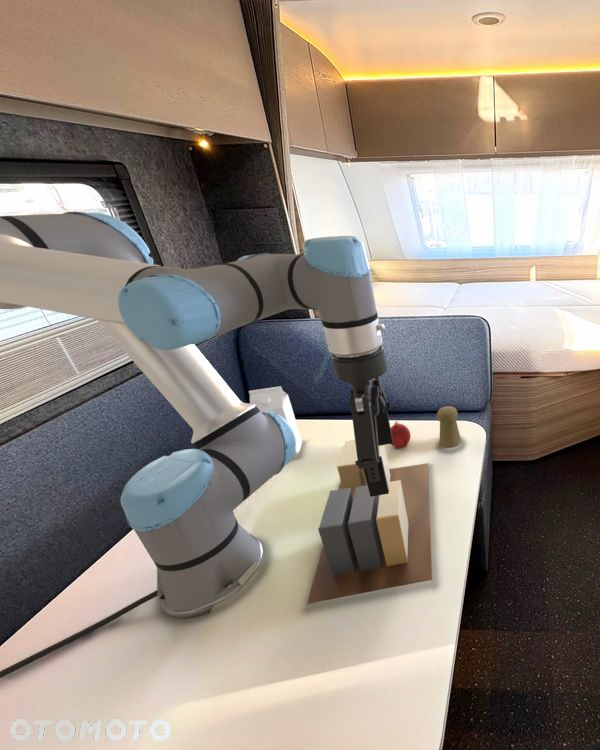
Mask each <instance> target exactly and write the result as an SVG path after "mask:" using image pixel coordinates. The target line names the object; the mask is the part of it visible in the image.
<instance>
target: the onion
mask: <svg viewBox="0 0 600 750" xmlns="http://www.w3.org/2000/svg"><path fill="white" fill-rule="evenodd" d="M390 428H391V433H392V438H393V444H390V446H392V447H394V448H396V449H401V448H404V447H406V446H407V445H408V444H409V442H410V441H411V436H412V435H411V432H410V429H409V428H408V427H407V426H406V425H405V424H403V423H399V422H398V421H397V420H395V421H394V424H393V425H392V426H390Z"/></svg>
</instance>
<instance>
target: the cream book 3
mask: <svg viewBox="0 0 600 750" xmlns="http://www.w3.org/2000/svg"><path fill="white" fill-rule="evenodd" d="M387 484H388V489H389V494H384V495H380V496H379V504H378V511H377V518H376V522H377V526H378V530H379V535H380V539H381V543H382V548H383V552H384V556H385V561H386V565H387V566H391V565H396V564H402V563H407V562H408V560H407V554H408V518H407V513H406V508H405V502H404V497H403V491H402V486H401V480H398V481H392V482H387Z"/></svg>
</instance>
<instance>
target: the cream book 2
mask: <svg viewBox="0 0 600 750" xmlns="http://www.w3.org/2000/svg"><path fill="white" fill-rule="evenodd" d="M379 456H382V461H383V466H384V470H385V475H386V479H387V482H390V470H389V469H390V466H389V461H388V456H387V451H386V445H381V446H379ZM362 471H363V475H364V480H365V484H366V485H367V481H366V477H365V473H364V469H363V468H362ZM379 496H380V495H378V497H379Z"/></svg>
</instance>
